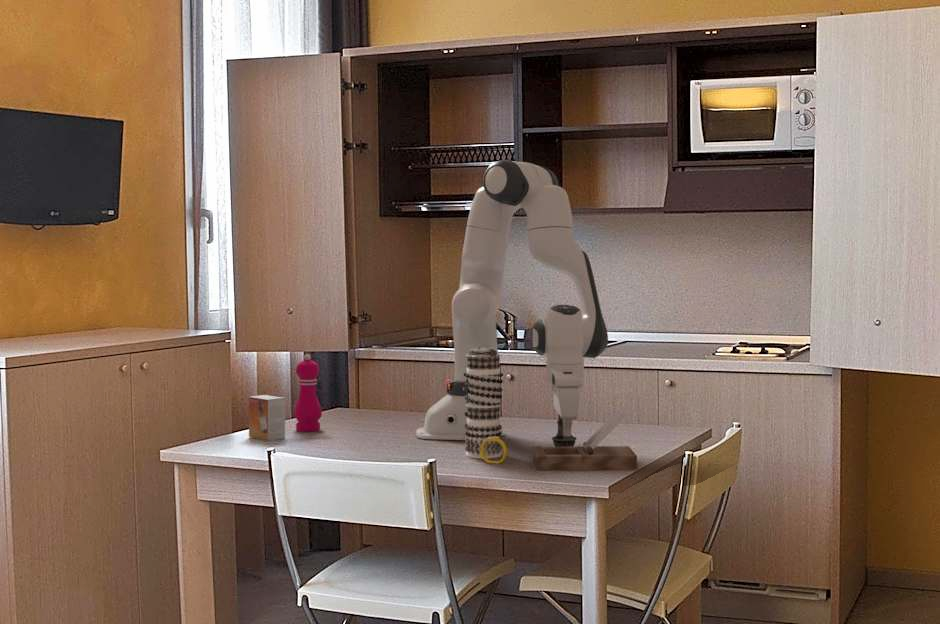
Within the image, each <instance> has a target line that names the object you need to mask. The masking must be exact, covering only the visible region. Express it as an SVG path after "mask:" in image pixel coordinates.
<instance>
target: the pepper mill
mask: <svg viewBox="0 0 940 624" xmlns="http://www.w3.org/2000/svg"><path fill="white" fill-rule="evenodd" d="M303 359H304V360H301V361H300V362H298V363H297V365H296V367H295V372H296V375H297V376H298V379H297V384H298V386H299V396H298V400H297V402H296V404H295V406H294V411H293V413H294V414H293V415H294V416H293V417H294V418H295V419H296V420H297V423H296V424H295V429H296V431H297V432H300V433H301V432H305V433H310V432H319V431H320V430H321V423H320V422H319V420H320V419H321V417H322V415H323V413H322V407H321V404H320V401H319V399H318V397H317V391H316V390H317V389H316V385H318V378H317V376H319V373H320V366H319V365H318V363H317V362H315V361H314V360H311V359H312V357H311V355H310V354H308V353H307V354H304V356H303Z"/></svg>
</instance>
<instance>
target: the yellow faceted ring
mask: <svg viewBox="0 0 940 624" xmlns="http://www.w3.org/2000/svg"><path fill="white" fill-rule="evenodd" d="M500 439H501V436H499V437H498V436H491V437H488V438H487V440H486V441H484V442H483V444H482V446H481V455H482V458H481V459H483V461H485V463H487V464H498V465H499V464H501V463H503V461H505V460H506V458H507V456H508V448H507V445H506V444H505V442H504V441H503V439H501V440H500ZM488 441H497V442H499V443H500V444H501V445H500V446H501V447H502V450H503V455H502V456H501V459H500V460H491V459H490V458H487V457H486V455H485V452H484V447H485V445H486V443H487V442H488Z"/></svg>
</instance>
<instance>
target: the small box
mask: <svg viewBox="0 0 940 624" xmlns="http://www.w3.org/2000/svg"><path fill="white" fill-rule="evenodd" d="M248 437H249V438H254V439H259V440H261V441H266V442H270V441H276V440H277V441H278V440H283V439H286V398H285V397H283V396H281V397H280V396H274V395H269V394H268V395H267V394H261V395H252V396H248Z"/></svg>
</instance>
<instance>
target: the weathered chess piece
mask: <svg viewBox="0 0 940 624" xmlns="http://www.w3.org/2000/svg"><path fill="white" fill-rule="evenodd" d="M557 415H558V416H557V418H558V420H557V421H556V423H557V432H556V435H555V436H552V437H551V440H552V443H553V445H554V446H553V447H575V444H576V441H577V437H575V436H574V435H572V434H571V436H569V437H565V436H564V435H563V419H562V418H561V417H560V415H559V414H557Z"/></svg>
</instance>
